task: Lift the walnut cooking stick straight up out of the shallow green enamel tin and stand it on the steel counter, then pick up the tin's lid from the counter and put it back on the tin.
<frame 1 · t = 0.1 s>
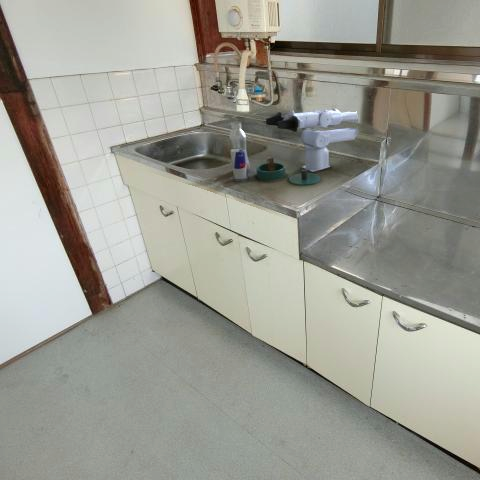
hand: (272, 123, 132), 22 cm above the counter, tool horizontal, fingers open, 7 cm apart
stick: (271, 175, 146), resting on tin
plastic bottle: (242, 172, 151), on the counter
energy drink: (241, 180, 143), on the counter
tin: (271, 176, 146), on the counter
tin lid: (304, 179, 140), point 1 cm above the counter
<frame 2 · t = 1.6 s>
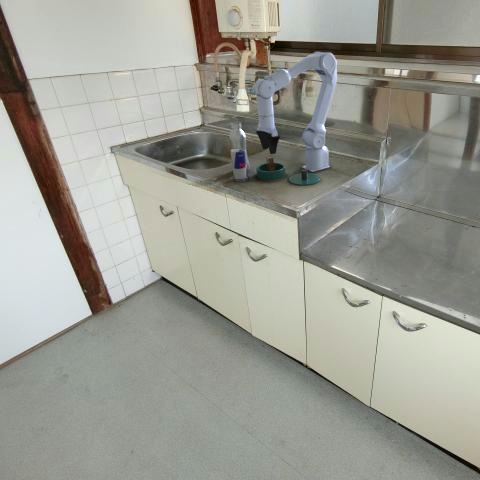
hand: (269, 151, 140), 10 cm above the counter, tool pointing down, fingers open, 7 cm apart
nothing on the counter moved.
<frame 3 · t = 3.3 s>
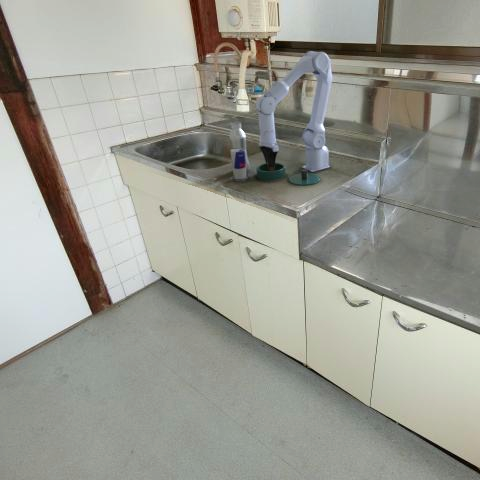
hand: (270, 165, 143), 5 cm above the counter, tool pointing down, fingers closed on stick, 2 cm apart
stick: (271, 175, 146), resting on tin, touching gripper
everything else where it was.
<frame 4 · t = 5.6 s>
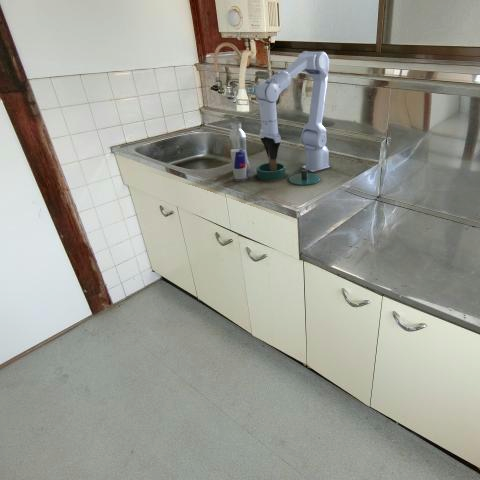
hand: (272, 157, 134), 10 cm above the counter, tool pointing down, fingers closed on stick, 2 cm apart
stick: (273, 169, 136), point 6 cm above the counter, touching gripper
everything else where it was.
when the fingers open (4 cm above the counter, at t = 7.9 s): stick stays where it is, on the counter.
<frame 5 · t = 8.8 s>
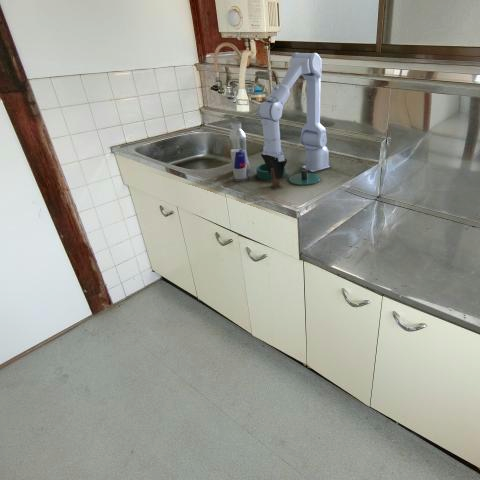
hand: (275, 175, 133), 5 cm above the counter, tool pointing down, fingers open, 7 cm apart
stick: (276, 187, 136), on the counter
everything else where it was.
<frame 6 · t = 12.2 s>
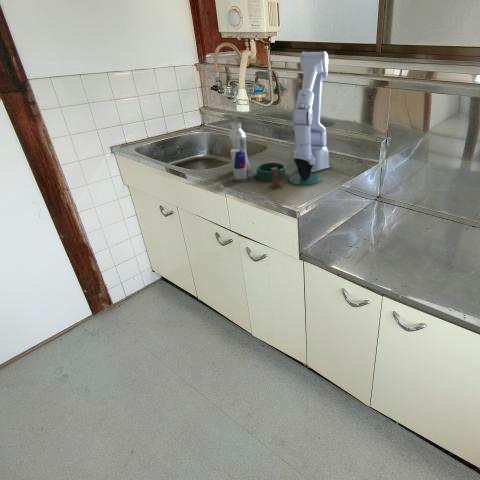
hand: (304, 177, 140), 1 cm above the counter, tool pointing down, fingers closed on tin lid, 2 cm apart
tin lid: (304, 179, 140), point 1 cm above the counter, touching gripper
everything else where it was.
when the fingers open (5 cm above the counter, at t = 16.5 s): tin lid stays where it is, resting on tin.
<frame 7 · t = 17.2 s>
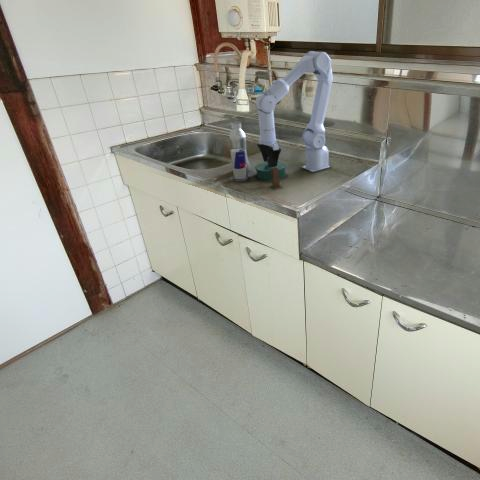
hand: (270, 163, 143), 5 cm above the counter, tool pointing down, fingers open, 7 cm apart
tin lid: (270, 167, 144), point 4 cm above the counter, touching tin
everything else where it was.
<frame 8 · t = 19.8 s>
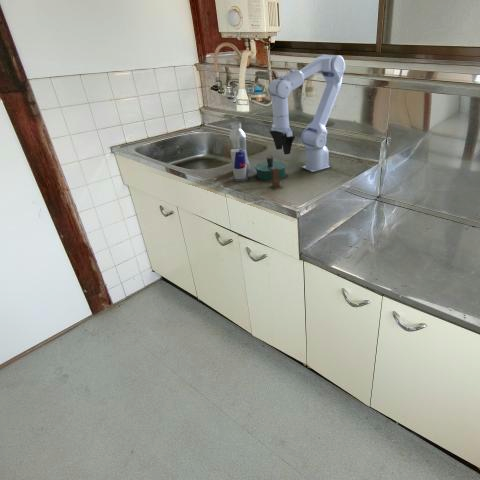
hand: (283, 151, 140), 10 cm above the counter, tool pointing down, fingers open, 7 cm apart
nothing on the counter moved.
at the end: stick inside the target area (0.0 cm from its centre), on the counter; tin lid 0.1 cm off-centre on the tin, point 4.0 cm above the tin's base; tin lid tilted 0° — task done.
